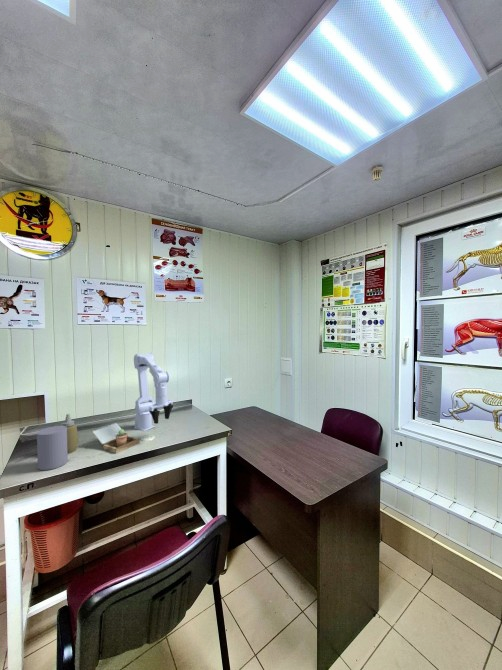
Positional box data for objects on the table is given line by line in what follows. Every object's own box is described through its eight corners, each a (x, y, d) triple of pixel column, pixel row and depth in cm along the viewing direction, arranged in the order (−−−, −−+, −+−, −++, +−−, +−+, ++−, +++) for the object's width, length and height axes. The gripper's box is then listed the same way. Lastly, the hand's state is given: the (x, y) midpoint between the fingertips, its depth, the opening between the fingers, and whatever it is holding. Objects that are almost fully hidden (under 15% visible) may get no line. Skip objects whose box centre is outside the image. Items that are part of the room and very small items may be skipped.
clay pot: (113, 447, 130) (112, 430, 130) (123, 442, 135) (122, 426, 135) (120, 449, 127) (120, 432, 127) (130, 444, 132) (129, 428, 132)
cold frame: (97, 448, 129) (97, 438, 129) (123, 438, 142) (123, 429, 142) (116, 454, 123) (116, 444, 123) (141, 442, 136) (141, 433, 135)
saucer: (137, 440, 139) (137, 439, 139) (148, 435, 145) (148, 434, 145) (147, 442, 136) (147, 441, 136) (157, 437, 142) (157, 436, 142)
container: (36, 473, 107) (36, 436, 107) (38, 463, 115) (37, 429, 115) (67, 465, 113) (67, 430, 113) (67, 456, 121) (66, 424, 121)
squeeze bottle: (63, 457, 121) (62, 418, 120) (55, 453, 125) (54, 415, 125) (82, 450, 127) (81, 413, 127) (73, 446, 132) (73, 410, 131)
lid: (102, 443, 128) (102, 444, 128) (126, 434, 139) (126, 435, 139) (91, 430, 132) (91, 431, 132) (115, 422, 143) (115, 423, 143)
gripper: (156, 399, 130) (156, 426, 131) (176, 393, 143) (177, 417, 144) (146, 397, 134) (146, 424, 134) (167, 391, 146) (167, 416, 147)
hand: (161, 421), depth 139 cm, fingers open, 7 cm apart
